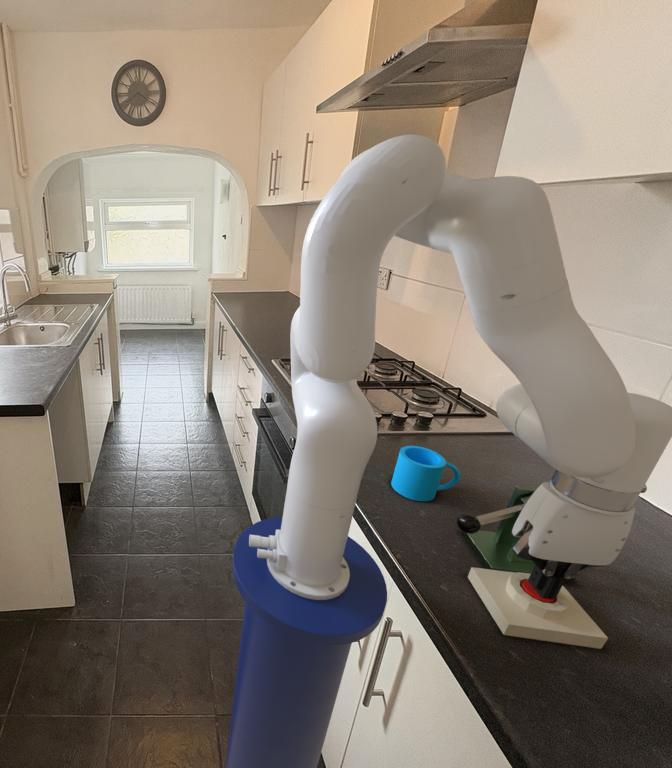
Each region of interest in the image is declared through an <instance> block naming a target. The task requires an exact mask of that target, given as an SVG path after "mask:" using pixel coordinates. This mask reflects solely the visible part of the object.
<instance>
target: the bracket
mask: <svg viewBox="0 0 672 768" xmlns="http://www.w3.org/2000/svg"><path fill="white" fill-rule="evenodd" d="M537 488H538V487H535V486H524V485H515V487H514V490H513V492H512V494H511V497H510V499H509V501H508V504H507V506H506V508H505V509H507V508H510V507H514V506H518V505H521V504H523V503H522V500H521V498H524V497H528V496H531V495H532V494H533V493H534V492H535V491H536V489H537ZM517 518H518V516H515V517H511V518H507V519H504V520H500V523H499V525H498V528H497V529H496V531H488V530H481V529H480V530H479V531H478V532H476V533H474V534H469V533H465V532H463V531H462V535H463V537H464V538H465V540H466V541H467V542H468V544H469V545H470V547H471V548H472V550H473V551H474V552H475V554H476V555H477V557H478V558H479V560H480V561H481V563H482V564H483V566H484V567H485V569H490V570H498V571H506V572H515V573H517V572H521V573H529V574H531V572H532V570H533V568H534V566H535V563H534V562H533V561H528V560H525V559H522V558H519V557H517V555H516V554H515V553H514V552H513V550H512V548H513V547H514V545H515V544H516V543H517V542H518V541H519V540H520V538H518V537H515V536H514V535H513V534H512V530H513V527H514V524H515V522H516V520H517ZM544 560H545V559H544ZM575 579H576V577H575V576H574V577H573V578H571V579H565V582H564V583H567V584H573V582H574V581H575Z"/></svg>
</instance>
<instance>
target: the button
mask: <svg viewBox="0 0 672 768" xmlns="http://www.w3.org/2000/svg"><path fill="white" fill-rule="evenodd" d="M521 588H522V589H523V590H524V592H525V593H527V594H528V595H530V596H531V597H532V598H534V599H536V600H539V601H541V602H543V603H551V604H552V603H553V601H554V599H550V598H549V597H547V598H541V597H540V596H539V594H538V593H537V592H536V590H535V589H534V588H533V587H532V585H531V584H530V583H529V581H528V580H525V581H523V583H522V585H521Z"/></svg>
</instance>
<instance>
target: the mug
mask: <svg viewBox="0 0 672 768" xmlns="http://www.w3.org/2000/svg"><path fill="white" fill-rule="evenodd" d="M445 467H447V468H450V469H451V470H452V471H453V473H454V474H453V477H452V479H451V480H449V481H448V482H446V483H444V484H440V483H441V479H442V477H443V473H444V471H445V470H444V469H445ZM460 479H461V472H460V470H459V468H458V467H457V466H456V465H454V464H453V463H451V462H449V461H447V460H446V459H445V458H444V457H443V456H442V454H440V453H439V452H437V451H435V450H433V449H430V448H427V447H423V446H419V445H418V446H417V445H406V446H403V447H400V450H399V453H398V457H397V460H396V464H395V468H394V471H393V475H392V479H391V482H390V484H391V487H392V488H393V490H394V491H395V492H397V493H398V494H399V495H401V496H402V497H404V498H407V499H409V500H412V501H418V502H429V501H432V500H434V499H435V497H436V494H437V492H438V491H444V490H448V489H450V488H453V487H454V486H455V485H457V484H458V483H459V481H460Z"/></svg>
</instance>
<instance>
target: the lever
mask: <svg viewBox="0 0 672 768" xmlns="http://www.w3.org/2000/svg"><path fill="white" fill-rule="evenodd" d="M531 496H532V495H531ZM531 496H528V497H524V498H521V500H522V503H523V504H521V505H518V506H514V507H510V508H507V507H506V508H507V509H506V508H503V509H499V510H495V511H493V512H488V513H484V514H482V515H481V514H480V515H477V516H475V515H474V514H470V513H463V514H460V515H459V516H458V517H457V520H456V525H457V528H458V529H460V530H461V532H462V533H463V532H465V533H469V534H474V533H476V532H478V531H479V530H481V526H484V525H488V524H492V523H495V522H499V521H500V522H501V520H504V519H507V518H511V517H515V516H519V515H520V513H521V511H522V509H523V508H524V506H525V504H526V503H527V501H528V500H529V498H530V497H531Z"/></svg>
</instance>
